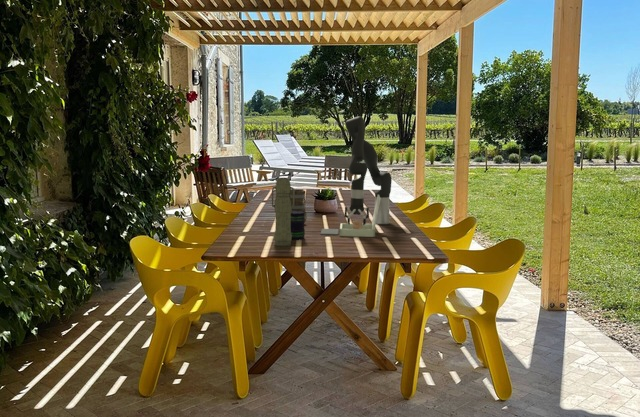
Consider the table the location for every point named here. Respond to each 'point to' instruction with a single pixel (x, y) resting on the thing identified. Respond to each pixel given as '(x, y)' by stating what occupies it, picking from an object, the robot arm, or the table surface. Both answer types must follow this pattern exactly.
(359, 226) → the pot
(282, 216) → the thermos
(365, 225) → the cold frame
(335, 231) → the slate mat
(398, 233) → the table surface
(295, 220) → the storage jar
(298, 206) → the mug
